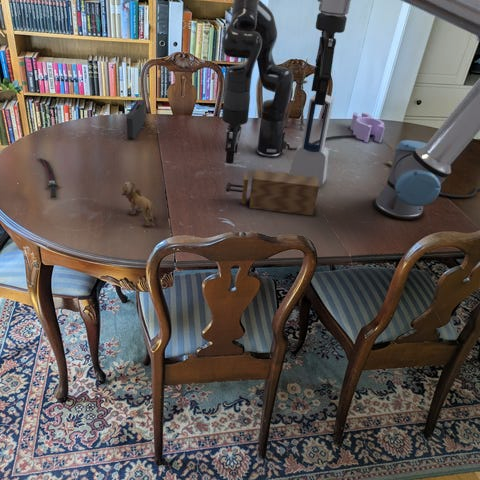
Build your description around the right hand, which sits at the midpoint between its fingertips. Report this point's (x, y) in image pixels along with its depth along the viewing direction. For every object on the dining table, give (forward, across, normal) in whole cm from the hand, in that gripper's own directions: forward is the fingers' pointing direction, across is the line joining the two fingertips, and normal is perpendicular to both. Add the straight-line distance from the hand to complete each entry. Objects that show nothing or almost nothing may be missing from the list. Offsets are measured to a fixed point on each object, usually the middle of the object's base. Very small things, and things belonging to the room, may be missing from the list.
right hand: (317, 97), depth 130 cm
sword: (+36, -1, -82) cm, 89 cm away
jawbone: (+36, -41, +45) cm, 71 cm away
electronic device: (+36, -22, +4) cm, 42 cm away
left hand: (+21, -1, -22) cm, 31 cm away
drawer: (+35, 0, -11) cm, 36 cm away
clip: (+36, -80, +33) cm, 94 cm away
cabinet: (+36, 0, -5) cm, 36 cm away
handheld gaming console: (+36, -51, -66) cm, 91 cm away
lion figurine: (+36, +16, -47) cm, 61 cm away
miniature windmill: (+36, -81, 0) cm, 88 cm away
